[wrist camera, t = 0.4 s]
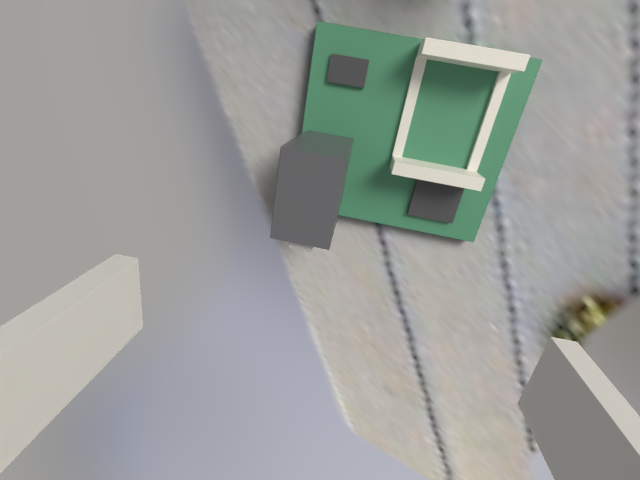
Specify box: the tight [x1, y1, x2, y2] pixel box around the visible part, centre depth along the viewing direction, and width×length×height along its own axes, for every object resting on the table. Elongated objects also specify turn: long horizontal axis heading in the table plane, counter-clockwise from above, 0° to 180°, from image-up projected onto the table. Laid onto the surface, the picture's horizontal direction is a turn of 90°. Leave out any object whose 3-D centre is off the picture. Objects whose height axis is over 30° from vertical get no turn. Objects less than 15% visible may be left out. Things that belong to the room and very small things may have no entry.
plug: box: [270, 130, 354, 252], centre depth 27 cm, size 7×4×10 cm, turn 171°
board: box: [302, 21, 542, 242], centre depth 29 cm, size 15×17×4 cm
